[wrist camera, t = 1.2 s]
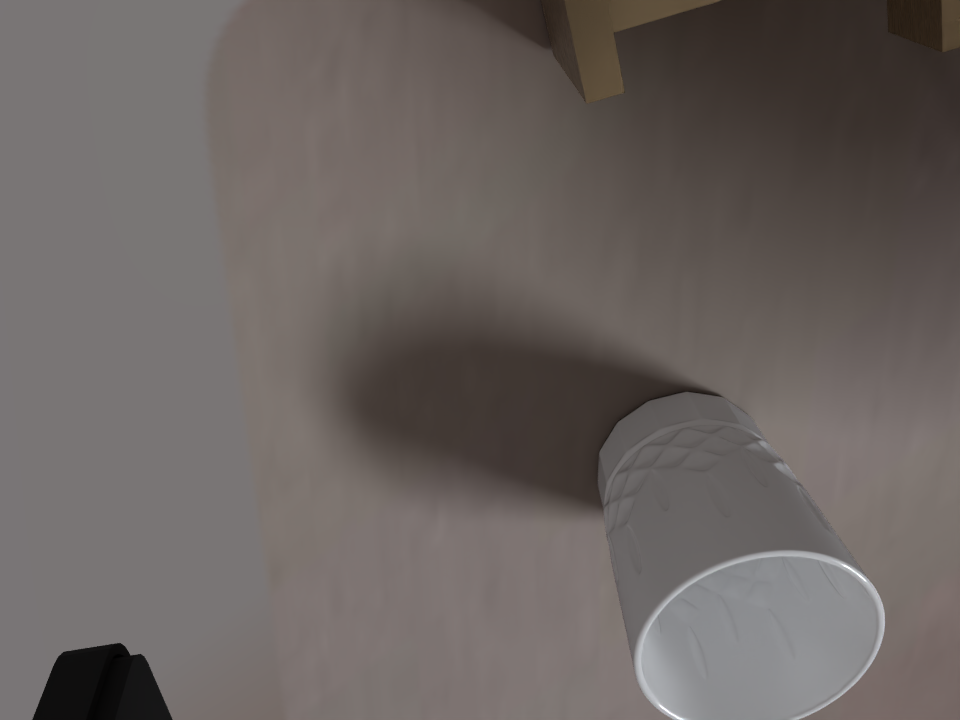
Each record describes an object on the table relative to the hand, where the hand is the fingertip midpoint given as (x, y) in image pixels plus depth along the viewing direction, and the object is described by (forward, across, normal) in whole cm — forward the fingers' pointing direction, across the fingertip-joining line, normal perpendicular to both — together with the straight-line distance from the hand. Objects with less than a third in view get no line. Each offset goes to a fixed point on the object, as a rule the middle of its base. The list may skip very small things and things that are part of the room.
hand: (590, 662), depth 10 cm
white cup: (+22, -8, +15) cm, 28 cm away
